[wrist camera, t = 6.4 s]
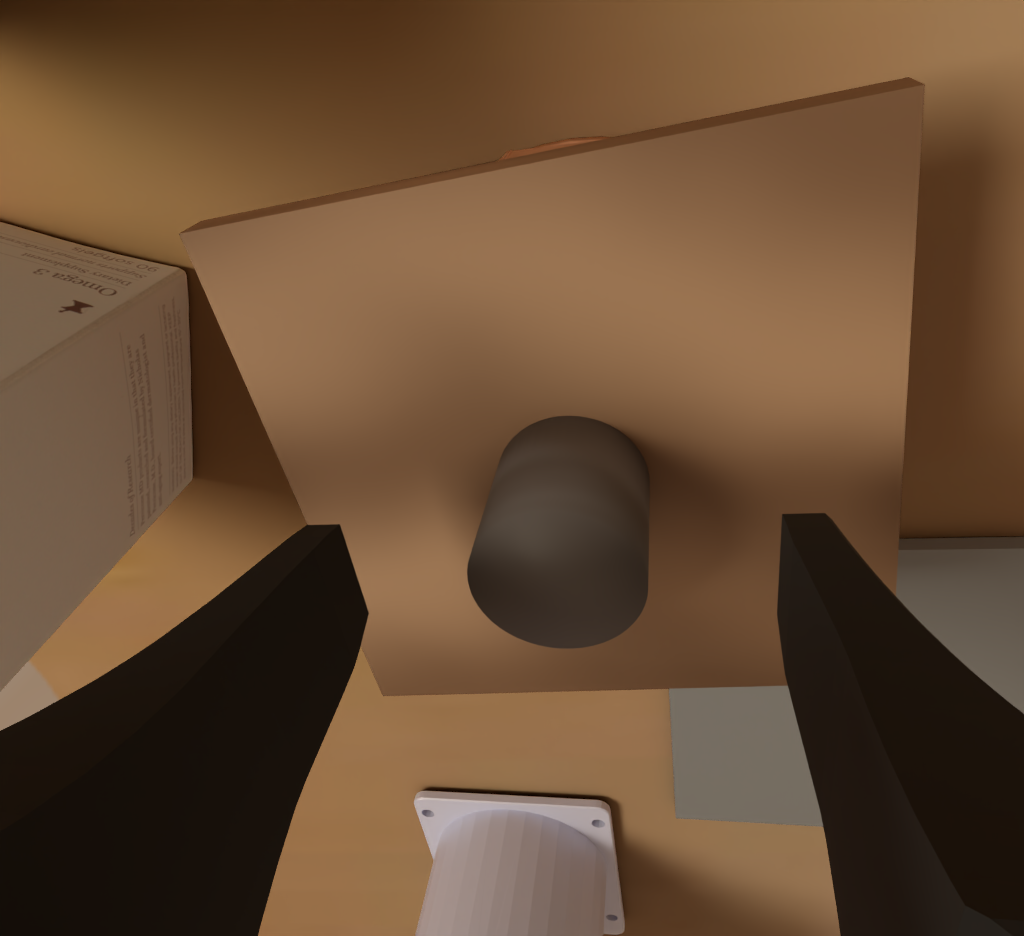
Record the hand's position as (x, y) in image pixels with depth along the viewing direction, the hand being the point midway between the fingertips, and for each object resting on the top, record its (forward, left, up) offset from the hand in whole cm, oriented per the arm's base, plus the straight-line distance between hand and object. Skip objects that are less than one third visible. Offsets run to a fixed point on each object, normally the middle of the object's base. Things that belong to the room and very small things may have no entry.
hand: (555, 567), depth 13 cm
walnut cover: (0, 0, -4) cm, 4 cm away
